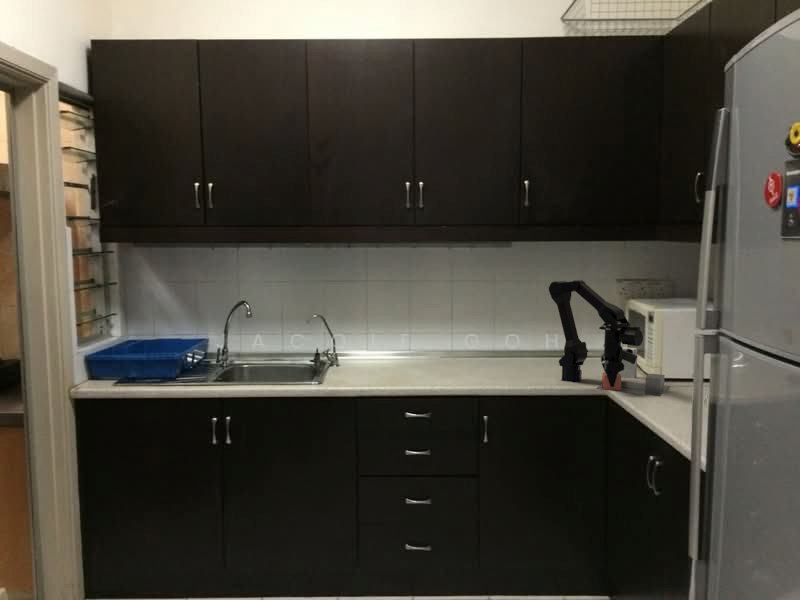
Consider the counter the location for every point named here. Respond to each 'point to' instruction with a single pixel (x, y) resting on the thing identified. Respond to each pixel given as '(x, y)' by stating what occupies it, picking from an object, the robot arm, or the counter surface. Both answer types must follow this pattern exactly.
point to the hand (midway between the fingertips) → (611, 385)
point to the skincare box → (629, 366)
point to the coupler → (643, 386)
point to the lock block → (607, 385)
